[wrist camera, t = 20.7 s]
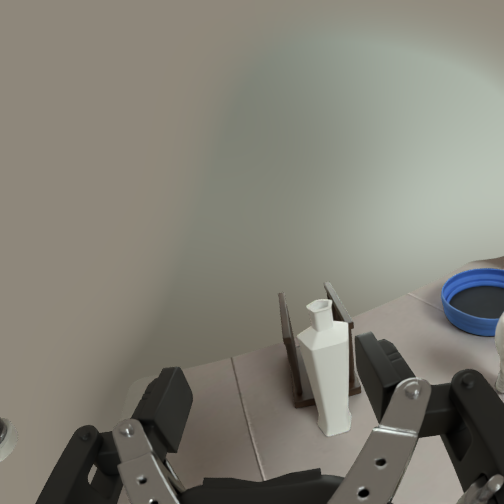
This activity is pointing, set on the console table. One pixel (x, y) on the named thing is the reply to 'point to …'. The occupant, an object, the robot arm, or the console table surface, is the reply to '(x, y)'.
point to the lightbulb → (500, 352)
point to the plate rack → (297, 365)
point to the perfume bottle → (327, 366)
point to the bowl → (475, 300)
